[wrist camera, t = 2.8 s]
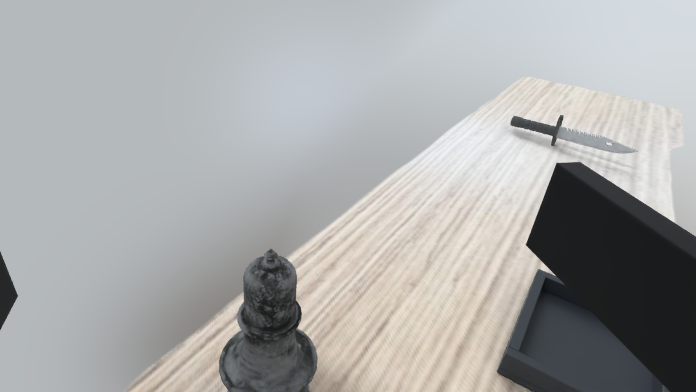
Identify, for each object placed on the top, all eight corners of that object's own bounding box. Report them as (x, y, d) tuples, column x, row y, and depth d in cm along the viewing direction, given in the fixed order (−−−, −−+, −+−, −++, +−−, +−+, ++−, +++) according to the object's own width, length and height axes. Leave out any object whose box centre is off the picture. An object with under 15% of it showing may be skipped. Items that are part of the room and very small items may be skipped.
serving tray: (662, 460, 27) (678, 441, 26) (496, 372, 32) (504, 353, 31) (660, 341, 36) (672, 324, 35) (530, 285, 40) (538, 268, 39)
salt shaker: (205, 428, 26) (188, 276, 20) (241, 349, 31) (236, 209, 25) (301, 449, 25) (314, 300, 19) (322, 366, 30) (337, 227, 24)
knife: (633, 163, 66) (646, 132, 64) (630, 168, 65) (643, 136, 62) (511, 131, 76) (518, 103, 74) (506, 134, 75) (513, 106, 72)
